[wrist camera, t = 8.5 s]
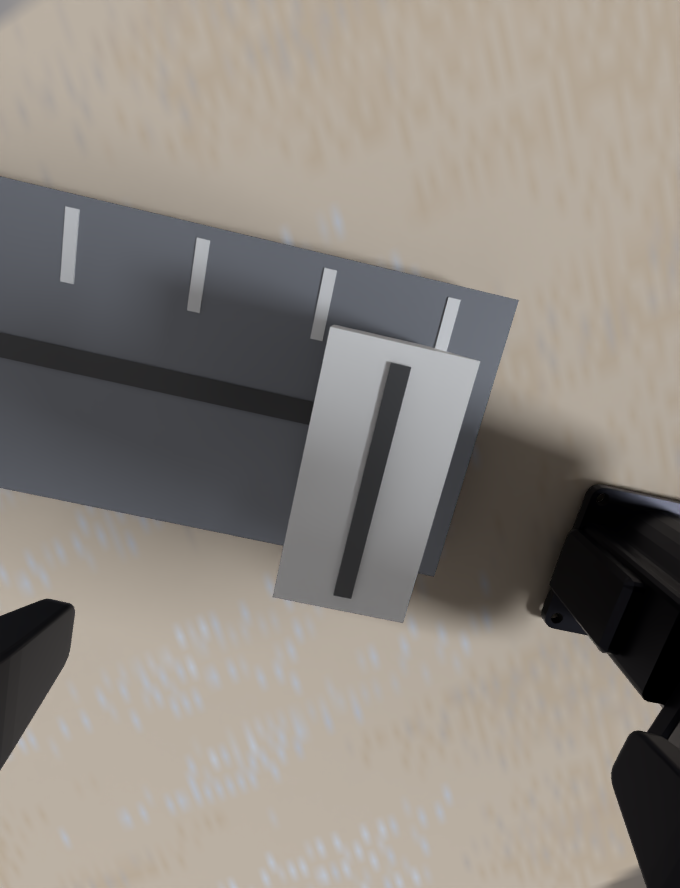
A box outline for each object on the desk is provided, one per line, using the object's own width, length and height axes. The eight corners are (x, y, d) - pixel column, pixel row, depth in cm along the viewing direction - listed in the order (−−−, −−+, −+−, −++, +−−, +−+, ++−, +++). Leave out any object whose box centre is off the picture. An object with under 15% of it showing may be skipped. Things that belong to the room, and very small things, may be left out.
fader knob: (426, 345, 15) (481, 361, 9) (381, 516, 16) (403, 625, 11) (334, 324, 15) (329, 326, 9) (297, 498, 16) (272, 599, 10)
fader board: (493, 303, 17) (519, 300, 15) (422, 545, 20) (434, 577, 17) (-61, 171, 16) (-133, 144, 14) (-64, 444, 19) (-125, 463, 16)
